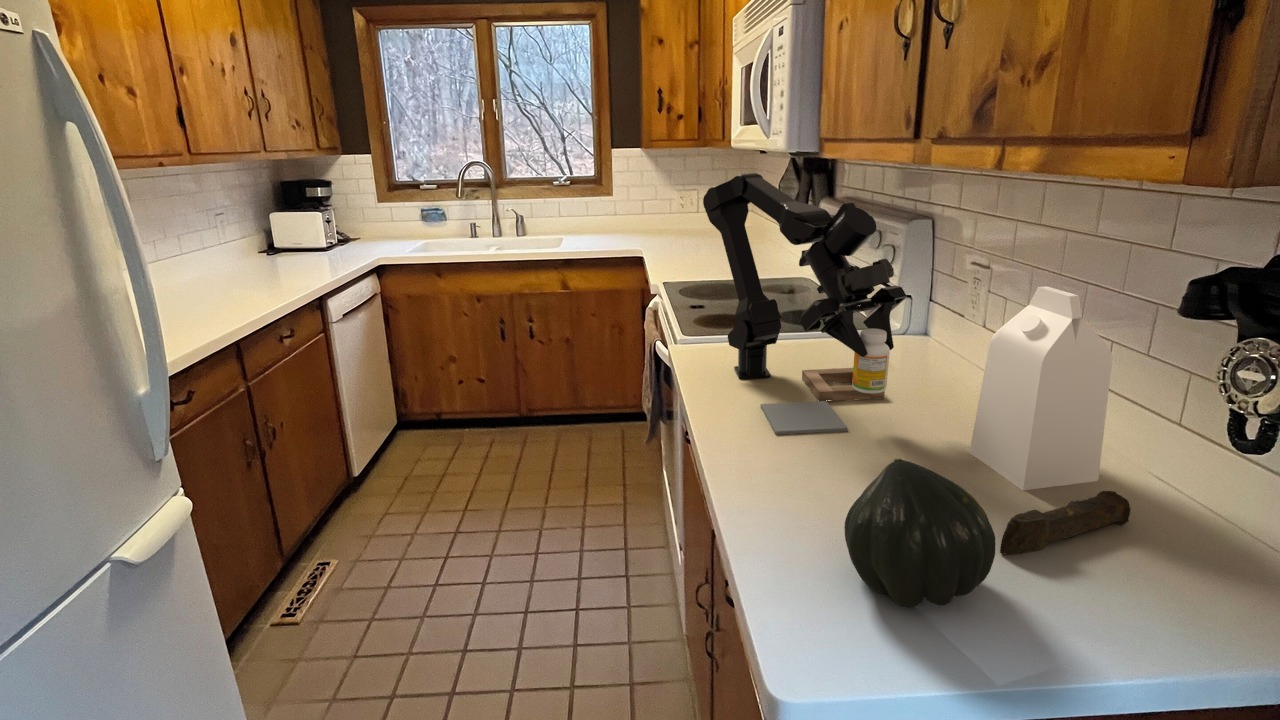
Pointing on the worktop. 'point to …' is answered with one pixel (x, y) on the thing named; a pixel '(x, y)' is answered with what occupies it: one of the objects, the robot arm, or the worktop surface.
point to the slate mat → (803, 417)
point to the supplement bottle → (872, 363)
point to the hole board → (824, 392)
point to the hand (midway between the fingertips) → (878, 352)
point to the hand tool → (1063, 522)
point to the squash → (919, 536)
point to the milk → (1044, 396)
